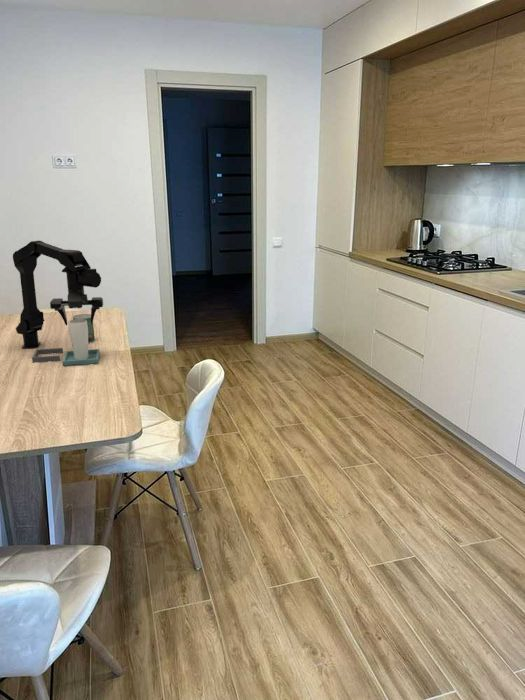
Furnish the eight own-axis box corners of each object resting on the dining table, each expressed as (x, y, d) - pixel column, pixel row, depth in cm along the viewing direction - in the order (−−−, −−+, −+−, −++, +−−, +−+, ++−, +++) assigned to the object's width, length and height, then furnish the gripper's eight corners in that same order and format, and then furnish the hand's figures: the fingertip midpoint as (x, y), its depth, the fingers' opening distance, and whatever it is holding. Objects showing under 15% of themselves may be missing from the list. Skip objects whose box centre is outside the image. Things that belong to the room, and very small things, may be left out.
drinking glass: (85, 362, 195) (81, 323, 190) (68, 360, 196) (64, 322, 191) (94, 356, 201) (90, 319, 196) (78, 355, 202) (74, 318, 198)
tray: (66, 356, 203) (65, 351, 202) (99, 353, 206) (99, 349, 205) (62, 366, 191) (62, 361, 191) (98, 364, 194) (97, 359, 194)
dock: (36, 354, 205) (36, 349, 204) (63, 352, 207) (62, 347, 206) (32, 362, 195) (31, 357, 194) (60, 360, 197) (59, 355, 197)
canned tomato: (97, 338, 226) (95, 314, 222) (90, 344, 218) (87, 318, 215) (80, 338, 227) (77, 313, 223) (72, 343, 219) (69, 318, 216)
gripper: (45, 289, 185) (50, 331, 190) (100, 288, 189) (103, 329, 194) (50, 283, 195) (54, 323, 200) (101, 282, 200) (104, 321, 204)
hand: (79, 324), depth 199 cm, fingers open, 9 cm apart
